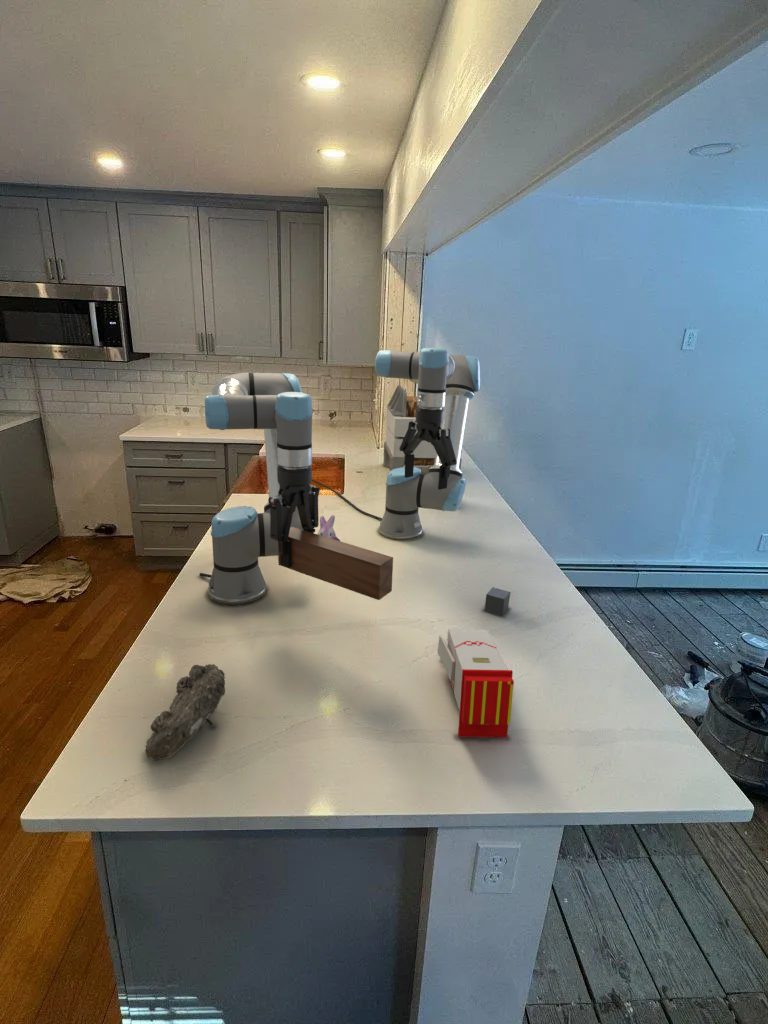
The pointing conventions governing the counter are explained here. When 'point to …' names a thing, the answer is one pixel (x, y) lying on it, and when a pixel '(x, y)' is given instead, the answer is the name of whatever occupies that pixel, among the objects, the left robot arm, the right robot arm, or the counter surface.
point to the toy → (478, 682)
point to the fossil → (186, 710)
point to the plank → (340, 563)
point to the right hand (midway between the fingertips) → (425, 482)
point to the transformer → (404, 432)
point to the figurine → (327, 528)
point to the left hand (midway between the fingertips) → (295, 561)
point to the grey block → (497, 601)
